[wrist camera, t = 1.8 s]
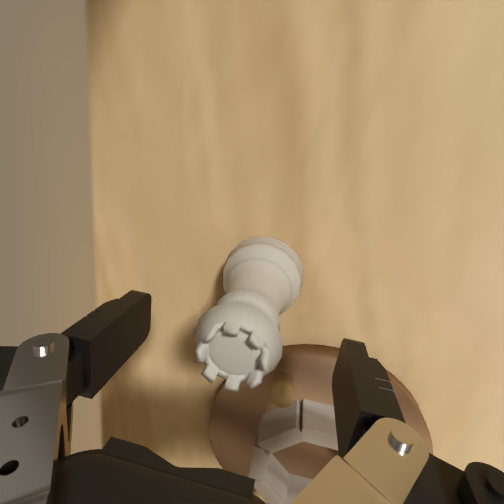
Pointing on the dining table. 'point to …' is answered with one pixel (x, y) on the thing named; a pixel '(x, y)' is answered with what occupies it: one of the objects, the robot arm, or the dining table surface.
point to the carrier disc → (289, 423)
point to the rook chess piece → (249, 313)
